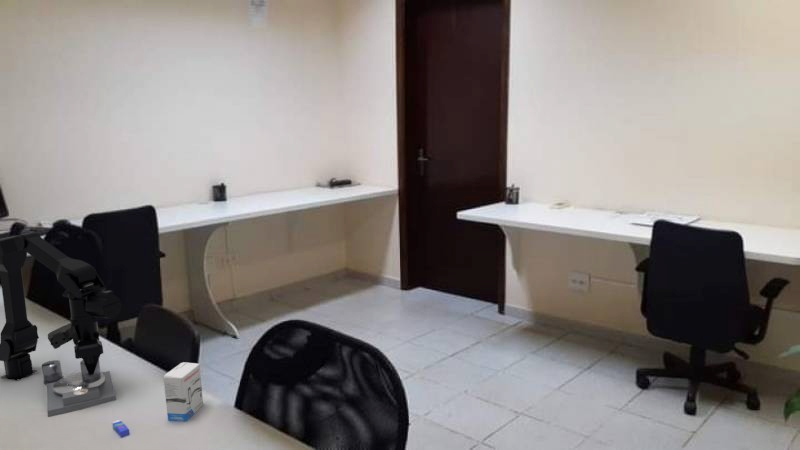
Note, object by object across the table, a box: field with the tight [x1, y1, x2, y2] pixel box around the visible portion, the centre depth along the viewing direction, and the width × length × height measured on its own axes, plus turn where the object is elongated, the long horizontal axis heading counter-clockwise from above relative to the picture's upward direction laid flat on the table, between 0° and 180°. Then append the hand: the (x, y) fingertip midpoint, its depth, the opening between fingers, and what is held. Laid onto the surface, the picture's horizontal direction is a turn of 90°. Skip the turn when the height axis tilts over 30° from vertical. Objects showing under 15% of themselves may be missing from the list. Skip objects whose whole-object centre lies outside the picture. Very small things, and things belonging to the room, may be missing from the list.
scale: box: [46, 370, 117, 417], centre depth 159 cm, size 17×15×4 cm
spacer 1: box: [41, 359, 64, 385], centre depth 167 cm, size 4×4×5 cm
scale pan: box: [53, 372, 105, 395], centre depth 160 cm, size 12×12×1 cm
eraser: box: [111, 419, 130, 439], centre depth 141 cm, size 2×6×2 cm, turn 41°
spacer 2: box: [79, 359, 102, 383], centre depth 161 cm, size 4×4×5 cm
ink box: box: [163, 361, 204, 423], centre depth 147 cm, size 9×5×12 cm, turn 168°
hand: (90, 370), depth 161 cm, fingers open, 5 cm apart
